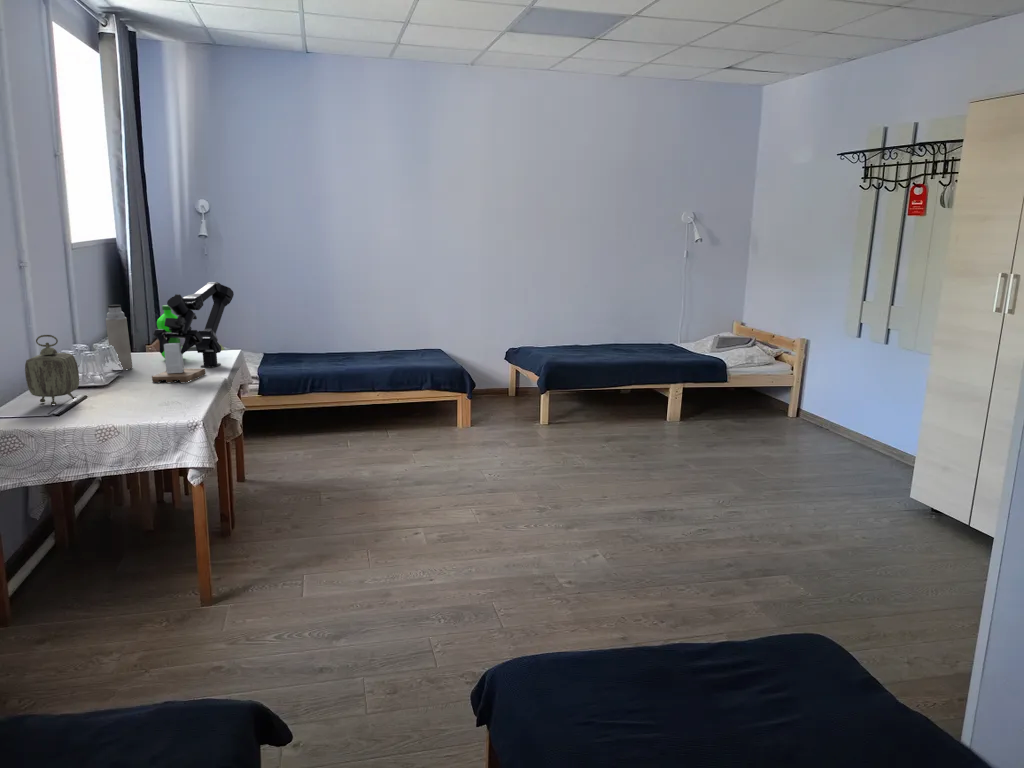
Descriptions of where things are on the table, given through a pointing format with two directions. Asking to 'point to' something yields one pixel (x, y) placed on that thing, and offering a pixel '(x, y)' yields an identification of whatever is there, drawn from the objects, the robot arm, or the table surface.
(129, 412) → the table surface
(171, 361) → the skincare box
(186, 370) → the pallet dock
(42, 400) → the tabletop clock
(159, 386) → the table surface
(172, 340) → the plastic bottle
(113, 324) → the thermos bottle
